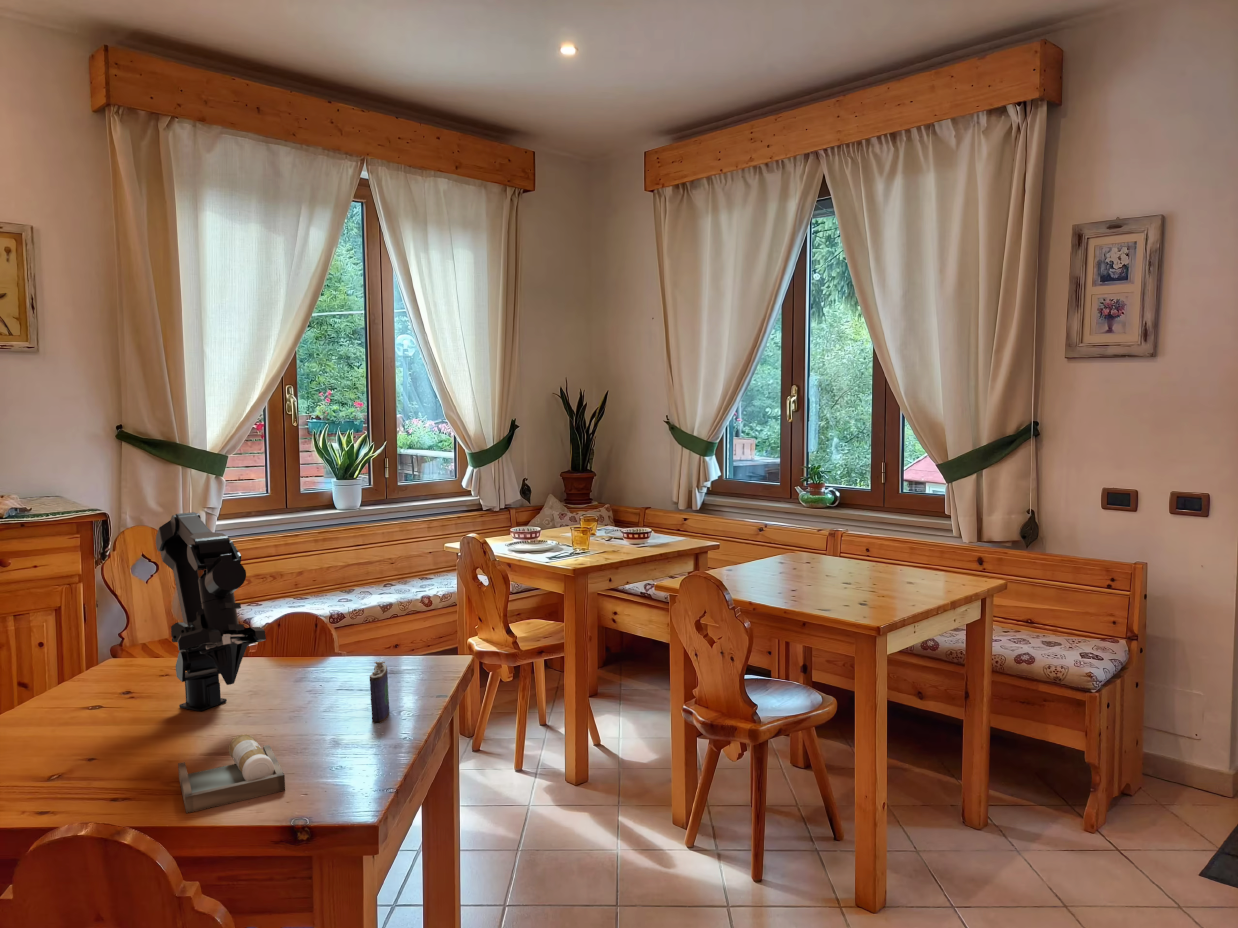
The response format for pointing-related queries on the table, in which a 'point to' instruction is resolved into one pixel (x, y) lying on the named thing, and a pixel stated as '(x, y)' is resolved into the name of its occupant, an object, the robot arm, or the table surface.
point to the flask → (379, 693)
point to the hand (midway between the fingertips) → (230, 684)
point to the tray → (226, 785)
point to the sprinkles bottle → (250, 758)
